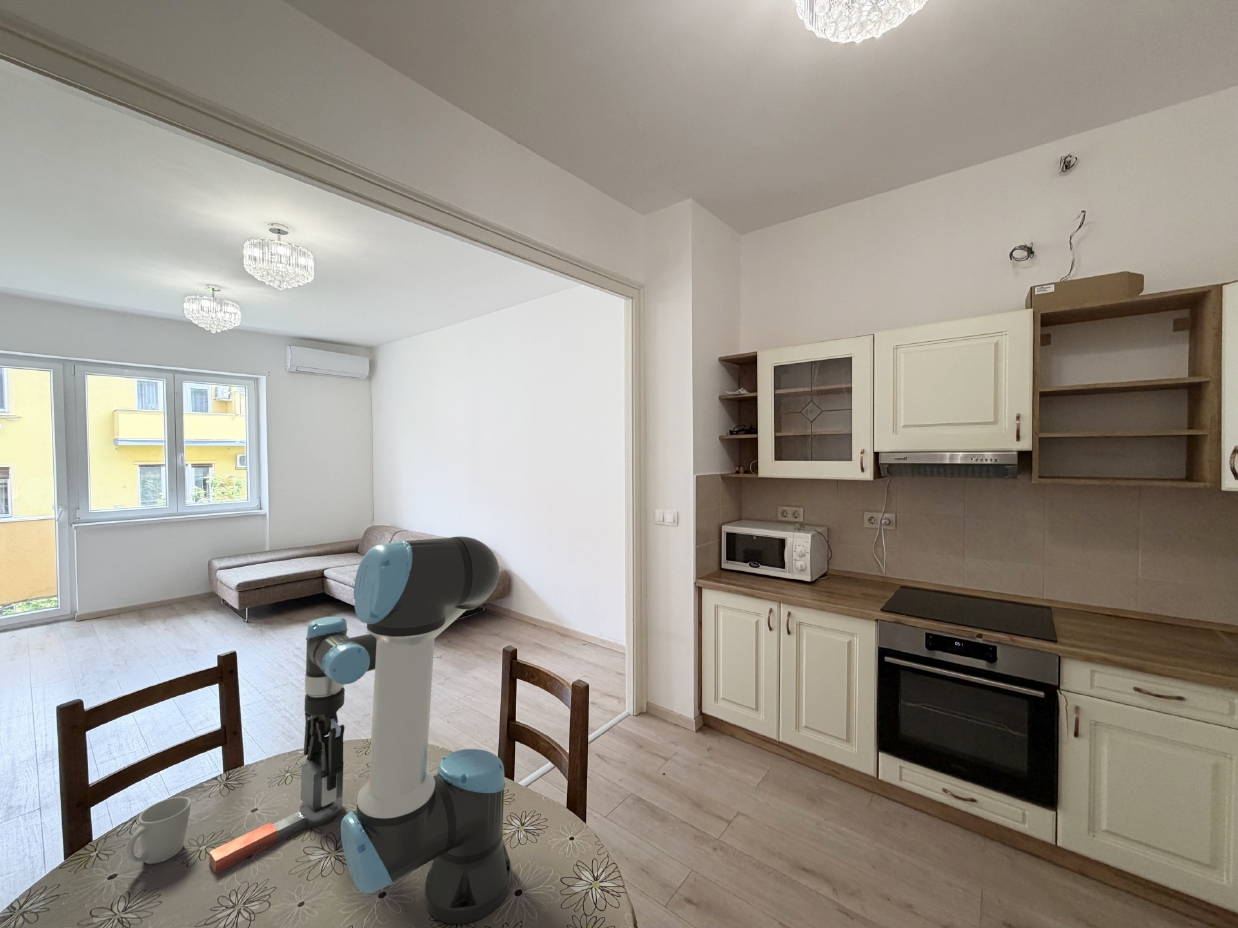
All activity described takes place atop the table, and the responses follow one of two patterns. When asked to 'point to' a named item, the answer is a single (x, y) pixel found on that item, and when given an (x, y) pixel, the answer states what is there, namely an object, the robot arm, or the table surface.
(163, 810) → the cup
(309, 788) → the grey rectangular block
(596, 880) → the table surface
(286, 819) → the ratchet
